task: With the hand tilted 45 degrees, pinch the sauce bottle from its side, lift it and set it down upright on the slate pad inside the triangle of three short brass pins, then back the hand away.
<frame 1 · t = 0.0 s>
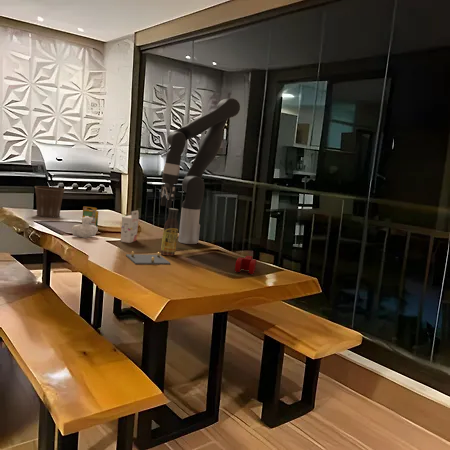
hand: (165, 206, 224), 17 cm above the table, tool pointing down, fingers open, 8 cm apart
bust: (84, 237, 215), on the table
mechanical linkage: (246, 271, 186), on the table
brass pins: (149, 256, 183), on the slate pad, point 1 cm above the table
plant pot: (48, 216, 266), on the table
crayon box: (89, 229, 238), on the table
ink cartridge box: (128, 241, 219), on the table
sauce bottle: (168, 255, 198), on the table
slate pad: (147, 259, 184), on the table
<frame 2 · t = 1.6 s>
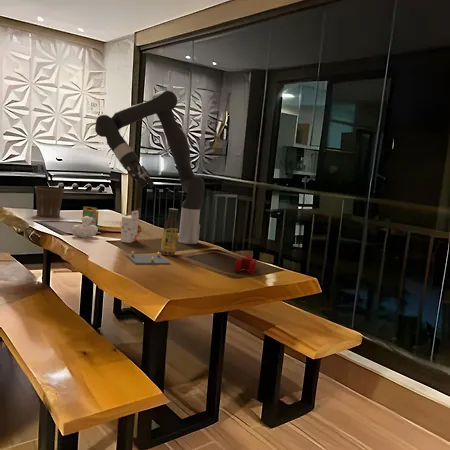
hand: (148, 186, 197), 28 cm above the table, tool tilted 45°, fingers open, 8 cm apart
nothing on the table moved.
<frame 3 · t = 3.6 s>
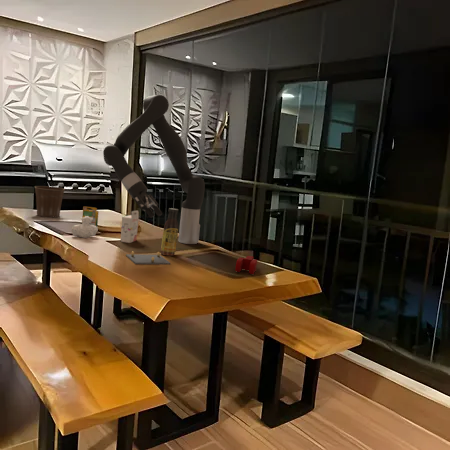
hand: (156, 215, 198), 16 cm above the table, tool tilted 45°, fingers open, 8 cm apart
nothing on the table moved.
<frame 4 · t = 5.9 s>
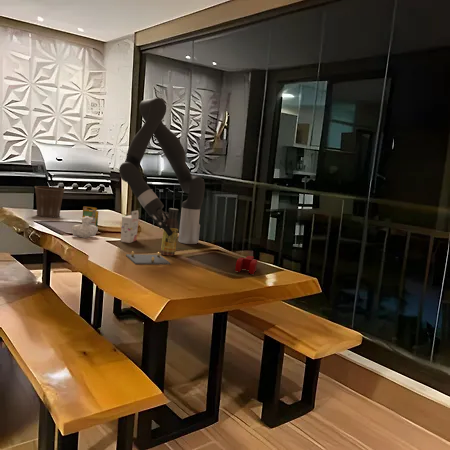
hand: (174, 233, 197), 9 cm above the table, tool tilted 45°, fingers closed on sauce bottle, 6 cm apart
sauce bottle: (168, 255, 198), on the table, touching gripper
everything else where it was.
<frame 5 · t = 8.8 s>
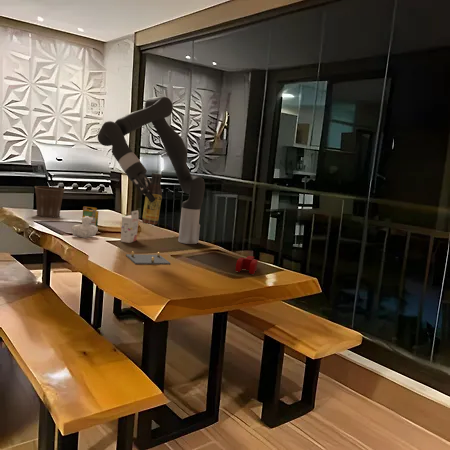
hand: (156, 200, 181), 24 cm above the table, tool tilted 45°, fingers closed on sauce bottle, 6 cm apart
sauce bottle: (150, 224, 183), point 14 cm above the table, touching gripper
everything else where it was.
when the fingers open (11 cm above the table, at t = 11.8 s): sauce bottle stays where it is, resting on slate pad.
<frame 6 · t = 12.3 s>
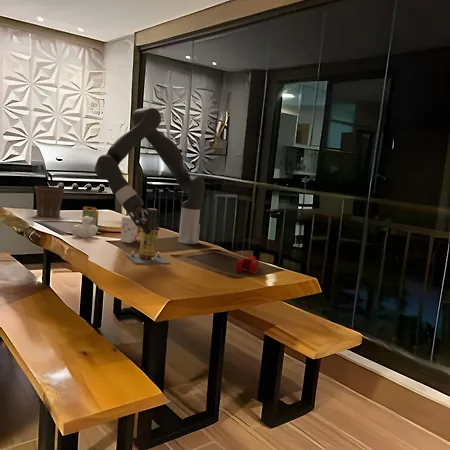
hand: (153, 232, 182), 11 cm above the table, tool tilted 45°, fingers open, 8 cm apart
sauce bottle: (147, 258, 184), resting on slate pad
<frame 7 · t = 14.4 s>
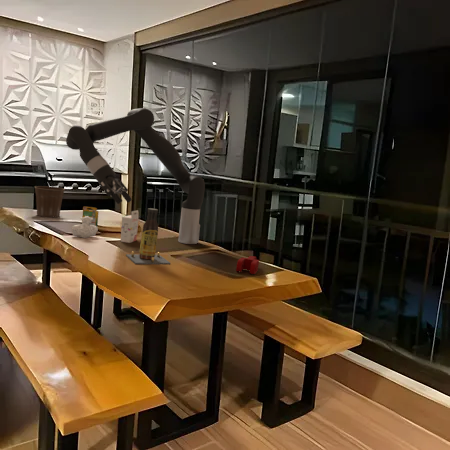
hand: (125, 201, 184), 22 cm above the table, tool tilted 45°, fingers open, 8 cm apart
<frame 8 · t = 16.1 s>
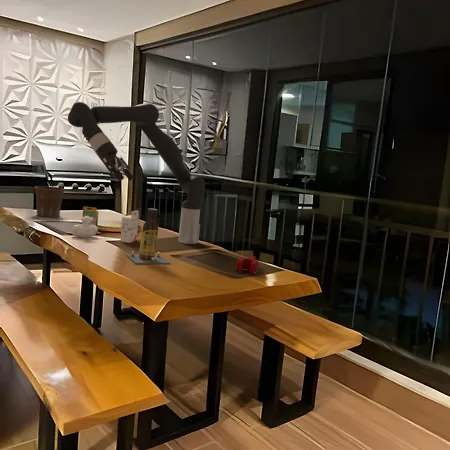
hand: (127, 179, 183), 31 cm above the table, tool tilted 45°, fingers open, 8 cm apart
at the end: sauce bottle inside the target area on the slate pad (0.2 cm from its centre), point 0.4 cm above the slate pad's base; sauce bottle tilted 0°; the gripper is holding nothing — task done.
